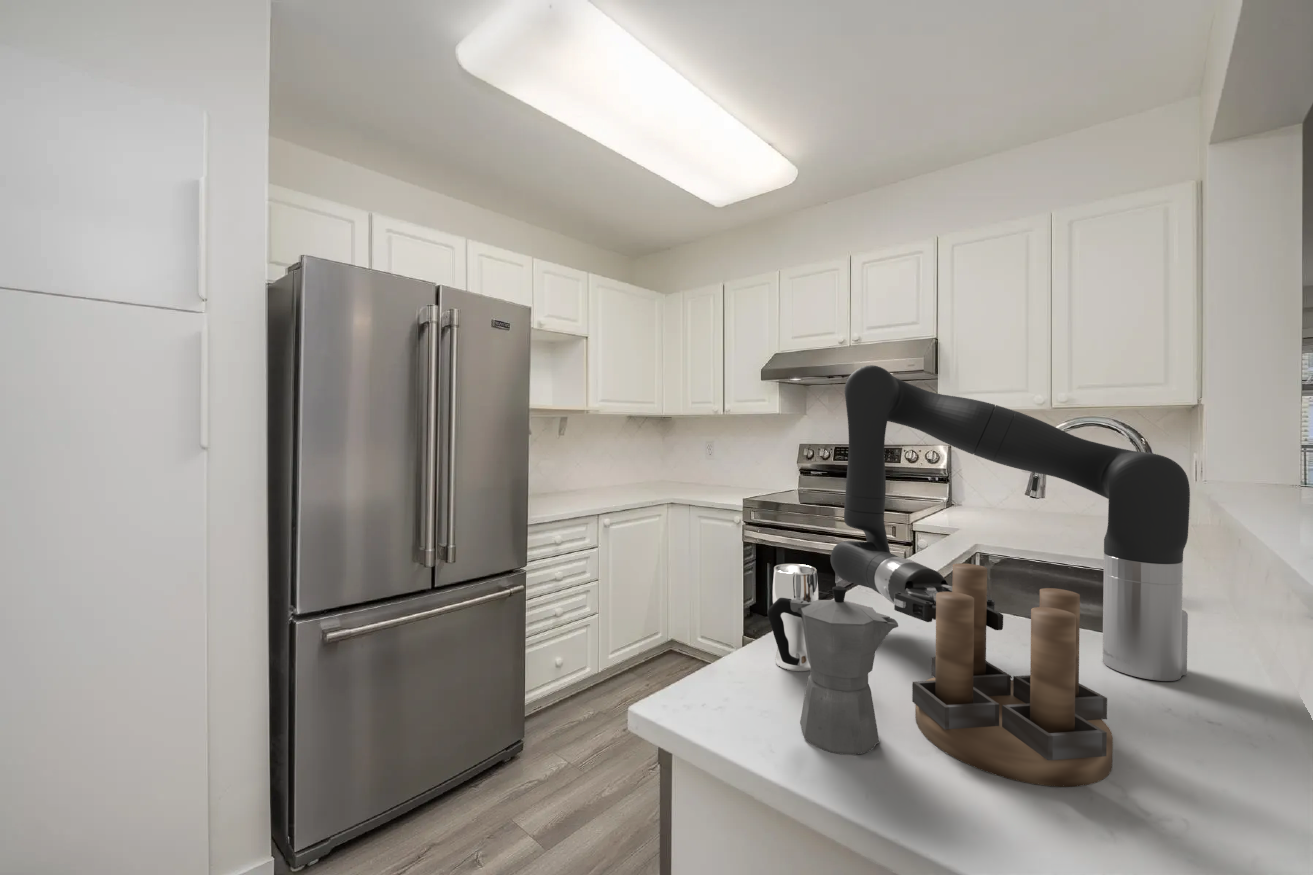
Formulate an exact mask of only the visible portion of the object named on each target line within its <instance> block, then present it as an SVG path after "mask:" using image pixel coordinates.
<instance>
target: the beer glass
mask: <svg viewBox="0 0 1313 875" xmlns="http://www.w3.org/2000/svg"><path fill="white" fill-rule="evenodd" d="M817 572H818V570H817V569H816V567H814V566H811V565H808V564H807V565H806V564H800V563H781V564H777V565H775V566H774V567H773V580H772V605H773V604H774V603H775V602H776V601H777V600H778V599H779V598H788V599H792V600H793V599H796V600H803V601H807V602H813V601H816V600H819V584H818V573H817ZM781 618H782V620H783V623H784V631H785V635H786V637H787V639H788V642H789V653H790V655H791V656H793V657H795V658H799V659H800V661H799V663H798V665H790V664H787V663H785V662H783V661H782V659H781V656H780V653H779V650H778V646H777V648H776V652H775V653H776V654H775V659H774V660H775V661H774V662H775V664H776V665H777V666H778V667H779V666H780V667H779V668H782V669H784V670H786V669H787V670H788V671H792V672H807V671H811V666H810V664H809V661H808V658H807V651H806V643H805V636H804V629H803V622H802V618H800V617H797V616H793V615H791V614H788V613H782V614H781ZM787 670H786V671H787Z"/></svg>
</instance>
